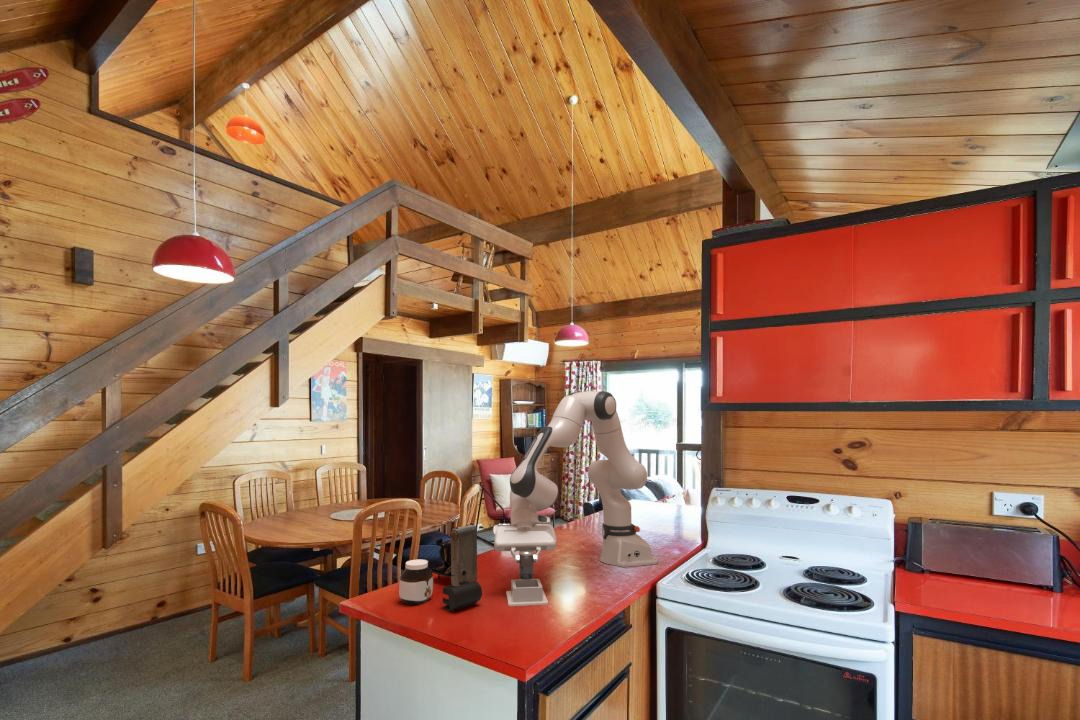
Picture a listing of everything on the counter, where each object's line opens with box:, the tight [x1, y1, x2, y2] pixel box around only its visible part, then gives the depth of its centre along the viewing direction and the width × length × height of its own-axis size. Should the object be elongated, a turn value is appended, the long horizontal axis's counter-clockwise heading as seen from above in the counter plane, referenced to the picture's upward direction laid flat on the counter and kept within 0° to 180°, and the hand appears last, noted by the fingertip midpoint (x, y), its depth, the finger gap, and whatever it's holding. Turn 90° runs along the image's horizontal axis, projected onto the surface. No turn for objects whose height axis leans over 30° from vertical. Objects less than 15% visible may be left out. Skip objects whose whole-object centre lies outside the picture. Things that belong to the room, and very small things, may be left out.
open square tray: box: [505, 578, 549, 607], centre depth 169 cm, size 12×12×5 cm
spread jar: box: [398, 558, 434, 606], centre depth 169 cm, size 12×11×12 cm
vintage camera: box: [430, 522, 478, 586], centre depth 186 cm, size 10×15×20 cm, turn 54°
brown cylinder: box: [518, 550, 535, 580], centre depth 170 cm, size 4×4×8 cm
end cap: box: [442, 581, 483, 612], centre depth 162 cm, size 10×7×7 cm
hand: (526, 561), depth 170 cm, fingers closed on brown cylinder, 4 cm apart
